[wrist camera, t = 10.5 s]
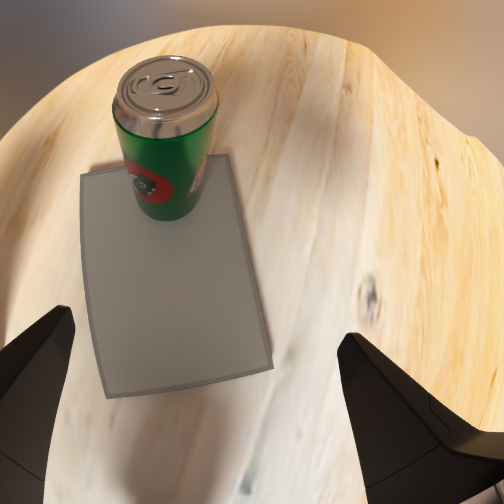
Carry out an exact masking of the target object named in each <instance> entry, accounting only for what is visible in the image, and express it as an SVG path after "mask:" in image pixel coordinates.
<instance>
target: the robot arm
mask: <svg viewBox="0 0 504 504" xmlns="http://www.w3.org/2000/svg"><path fill="white" fill-rule="evenodd" d="M74 335H75V323H74V319H73V315H72V311H71V309H70V307H68V306H63V305H58V306H56V307H55V308H53V309H52V310H51V311H49V312H48V313H47V314H45V315H44V316H43V317H41V318H40V319H39V320H38V321H36V322H35V323H34V324H32V325H31V326H30V327H29V328H27V329H26V330H25V331H24V332H22V333H21V334H20V335H19V336H17V337H16V338H15V339H14V340H12V341H11V342H10V343H9V344H8V345H6V346H5V347H4V348H3V349H2V350H0V504H43V497H44V486H45V476H46V468H47V461H48V454H49V448H50V443H51V437H52V432H53V427H54V423H55V418H56V414H57V409H58V405H59V401H60V397H61V393H62V390H63V386H64V382H65V379H66V375H67V370H68V365H69V359H70V354H71V349H72V344H73V340H74ZM337 357H338V363H339V370H340V376H341V383H342V389H343V394H344V398H345V402H346V406H347V410H348V414H349V418H350V422H351V426H352V431H353V435H354V439H355V443H356V448H357V452H358V457H359V461H360V466H361V470H362V475H363V480H364V485H365V491H366V496H367V501H368V504H504V432H485V431H481V430H478V429H476V428H475V427H473V426H472V425H470V424H469V423H467V422H466V421H465V420H463V419H462V418H461V417H459V416H458V415H456V414H455V413H454V412H452V411H451V410H450V409H448V408H447V407H446V406H444V405H443V404H442V403H441V402H439V401H438V400H437V399H436V398H435V397H434V396H432V395H431V394H430V393H428V392H427V391H426V390H425V389H424V388H423V387H422V386H421V385H419V384H418V383H417V382H416V381H415V380H414V379H412V378H411V377H410V376H409V375H408V374H407V373H405V372H404V371H403V370H402V369H401V368H400V367H398V366H397V365H396V364H395V363H394V362H393V361H391V360H390V359H389V358H388V357H387V356H386V355H384V354H383V353H382V352H381V351H380V350H378V349H377V348H376V347H375V346H374V345H373V344H371V343H370V342H369V341H368V340H367V339H366V338H364V337H363V336H362V335H361V334H360V333H347V334H346V335H345V337H344V339H343V340H342V342H341V344H340V345H339V347H338V350H337Z"/></svg>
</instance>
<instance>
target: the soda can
mask: <svg viewBox="0 0 504 504" xmlns="http://www.w3.org/2000/svg"><path fill="white" fill-rule="evenodd" d="M218 105H219V96H218V93H217V90H216V88H215V86H214V81H213V77H212V75H211V73H210V72H209V70H208V69H207V68H206V67H205V66H203V65H202V64H201V63H199V62H197V61H195V60H193V59H190V58H187V57H182V56H158V57H154V58H150V59H147V60H144V61H142V62H140V63H138V64H136V65H135V66H133V67H132V68H130V69H129V70H128V71H127V72H126V73H125V74H124V75H123V77H122V78H121V80H120V82H119V85H118V88H117V93H116V95H115V97H114V100H113V104H112V113H113V118H114V122H115V126H116V130H117V134H118V138H119V142H120V146H121V150H122V153H123V157H124V161H125V164H126V168H127V171H128V174H129V178H130V181H131V185H132V188H133V191H134V194H135V197H136V201H137V203H138V205H139V207H140V209H141V210H142V211H143V212H144V213H145V214H146V215H147V216H149V217H150V218H152V219H155V220H158V221H174V220H178V219H180V218H182V217H184V216H186V215H187V214H189V213H190V212H191V211H192V210H193V209H194V207H195V206H196V204H197V202H198V199H199V196H200V191H201V185H202V180H203V175H204V170H205V165H206V160H207V155H208V150H209V145H210V141H211V136H212V132H213V127H214V123H215V118H216V114H217V110H218Z"/></svg>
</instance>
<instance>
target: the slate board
mask: <svg viewBox="0 0 504 504" xmlns="http://www.w3.org/2000/svg"><path fill="white" fill-rule="evenodd" d="M80 242H81V259H82V271H83V281H84V290H85V298H86V305H87V312H88V319H89V325H90V331H91V336H92V341H93V346H94V351H95V356H96V360H97V365H98V369H99V373H100V377H101V381H102V385H103V389H104V392H105V396H106V399H112V398H122V397H132V396H140V395H148V394H155V393H162V392H169V391H175V390H181V389H186V388H192V387H197V386H203V385H208V384H212V383H217V382H222V381H226V380H231V379H235V378H240V377H244V376H248V375H252V374H256V373H260V372H264V371H267V370H271V369H274V366H273V361H272V357H271V352H270V347H269V343H268V338H267V333H266V329H265V324H264V319H263V315H262V310H261V305H260V301H259V296H258V291H257V287H256V282H255V277H254V273H253V268H252V263H251V259H250V254H249V249H248V244H247V240H246V235H245V230H244V226H243V221H242V216H241V211H240V207H239V202H238V197H237V192H236V188H235V183H234V178H233V173H232V169H231V164H230V159H229V154H218V155H207V160H206V165H205V170H204V175H203V180H202V185H201V191H200V196H199V199H198V202H197V204H196V206H195V207H194V209H193V210H192V211H191V212H190V213H189V214H187V215H186V216H184V217H182V218H180V219H178V220H174V221H158V220H155V219H152V218H150V217H149V216H147V215H146V214H145V213H144V212H143V211H142V210H141V209H140V207H139V205H138V203H137V201H136V197H135V194H134V191H133V188H132V185H131V181H130V178H129V174H128V171H127V168H126V166H122V167H116V168H111V169H105V170H100V171H95V172H90V173H85V174H80Z"/></svg>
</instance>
